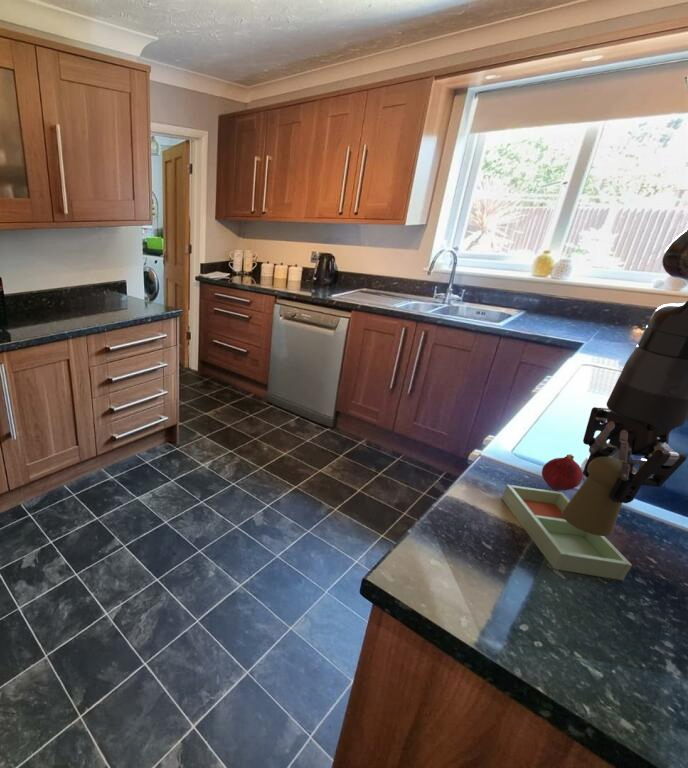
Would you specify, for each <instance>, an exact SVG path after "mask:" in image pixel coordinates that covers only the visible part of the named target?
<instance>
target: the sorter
mask: <svg viewBox="0 0 688 768" xmlns="http://www.w3.org/2000/svg"><path fill="white" fill-rule="evenodd" d="M501 499H502V501H503V502H504V504H505V505H506V506H507V508H508V509H509V510H510V512H511V513H512V514H513V516H514V517H515V518H516V520H517V521H518V522H519V524H520V526H522V528H523V529H524V531H525V532H526V533H527V535H529V537H530V539H531V540H532V541H533V543H534V545H536V547H537V548H538V550H539V551H540V552H541V554H542V555H543V557H544V558H545V559H546V560H547V562H548V563H549V564H550V566H551V567H552V568H553V569H554V570H558V571H563V572H564V571H565V572H570V573H577V574H582V575H587V576H588V575H589V576H593V577H598V578H599V577H601V578H606V579H611V580H617V581H624V579H625V578H626V577H627V574H628V573H629V571H630V570H631V568H632V566H633V565H632V563H631V562H630V560H628V559H627V558H626V557H625V556H624V555H623V554H622V553H621V551H619V550H618V549H617V548H616V546H614V544H613V543H612V542H610V540H609V539H608V538H607V536H598V535H593V534H590V533H587V532H584V531H582V530H580V529H578V528H576V527H574V526H573V525H571V524H569V523H568V522H567V521H566V520H565V519H564V518H563V517H562V514H561V512H562V511H563V509H564V508H565V507H566V505H567V504H568V503H569V501H570V500H571V499H569V497H568V496H566V494H565V493H563V491H556V490H550V489H549V490H548V489H543V488H542V489H541V488H535V487H534V488H533V487H528V486H527V487H526V486H520V485H512V484H506V486H505V488H504V491H503V493H502V495H501Z"/></svg>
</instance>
